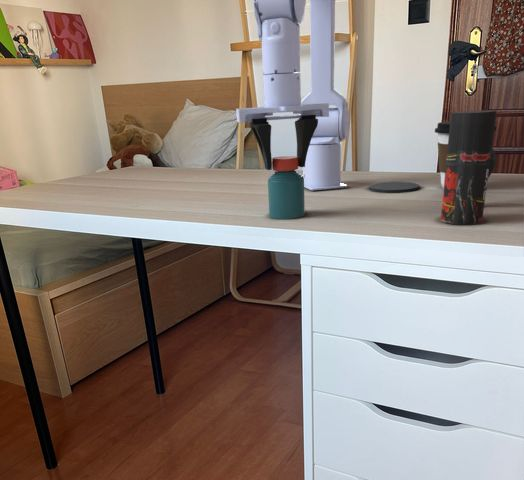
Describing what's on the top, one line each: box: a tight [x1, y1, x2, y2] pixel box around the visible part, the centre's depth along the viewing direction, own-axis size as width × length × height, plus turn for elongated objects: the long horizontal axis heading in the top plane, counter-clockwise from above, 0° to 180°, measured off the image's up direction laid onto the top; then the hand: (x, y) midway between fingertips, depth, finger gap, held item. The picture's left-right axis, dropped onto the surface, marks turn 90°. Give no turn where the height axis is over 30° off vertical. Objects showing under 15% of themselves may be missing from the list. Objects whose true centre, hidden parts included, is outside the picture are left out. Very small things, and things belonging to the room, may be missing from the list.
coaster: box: [368, 181, 420, 194], centre depth 108 cm, size 10×10×1 cm
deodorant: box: [440, 109, 497, 226], centre depth 76 cm, size 6×6×15 cm
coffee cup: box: [434, 120, 497, 190], centre depth 102 cm, size 11×11×12 cm
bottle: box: [267, 169, 306, 220], centre depth 88 cm, size 6×6×9 cm
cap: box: [271, 155, 299, 172], centre depth 86 cm, size 4×4×2 cm
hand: (284, 167), depth 86 cm, fingers open, 5 cm apart
